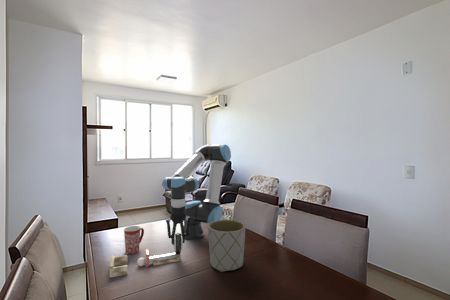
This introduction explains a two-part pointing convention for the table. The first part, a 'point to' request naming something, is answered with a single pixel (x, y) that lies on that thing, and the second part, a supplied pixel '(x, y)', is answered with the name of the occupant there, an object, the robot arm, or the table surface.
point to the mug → (133, 239)
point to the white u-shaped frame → (166, 256)
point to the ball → (141, 261)
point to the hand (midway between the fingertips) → (178, 249)
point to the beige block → (120, 269)
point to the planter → (226, 244)
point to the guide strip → (166, 260)
